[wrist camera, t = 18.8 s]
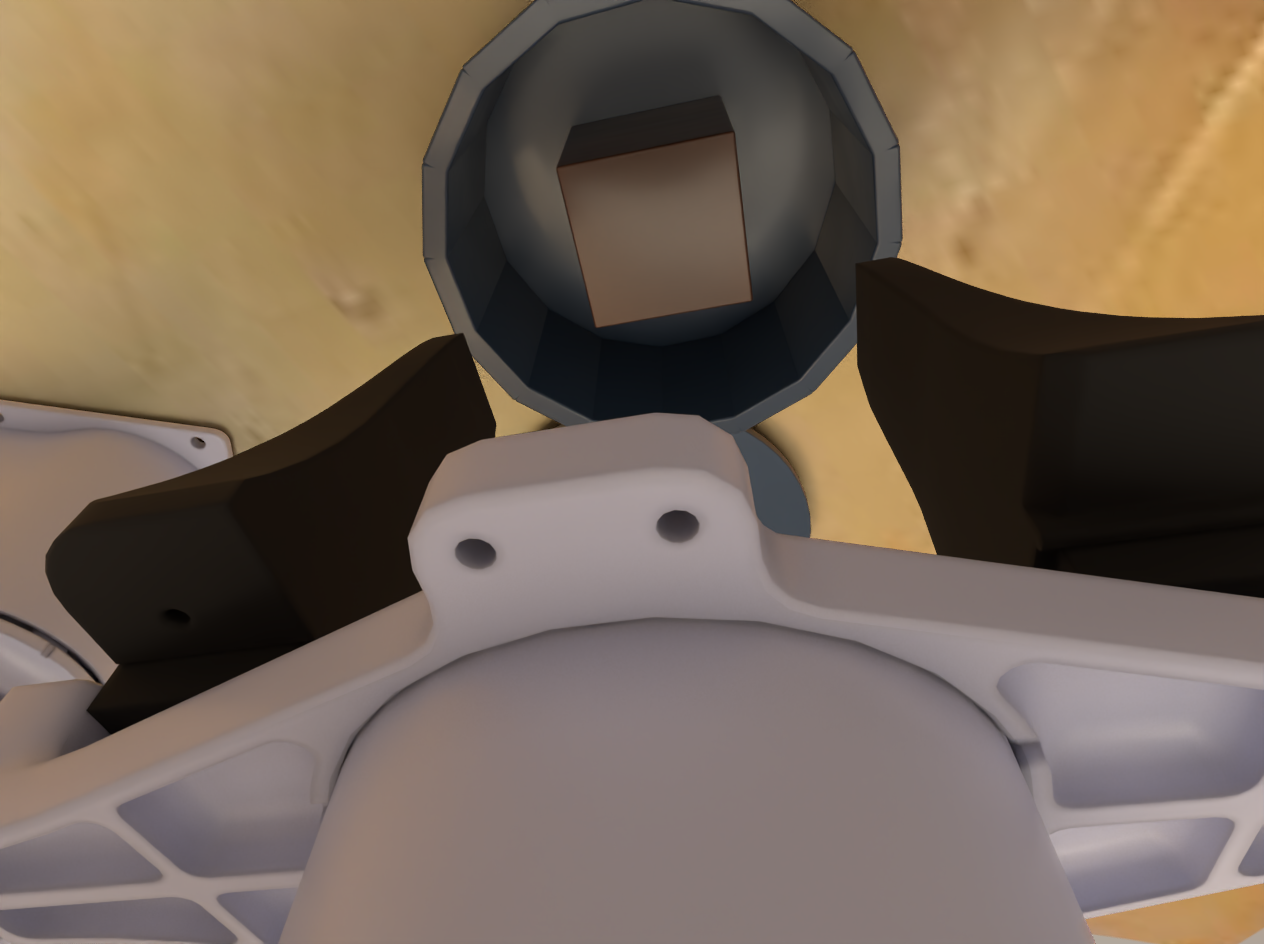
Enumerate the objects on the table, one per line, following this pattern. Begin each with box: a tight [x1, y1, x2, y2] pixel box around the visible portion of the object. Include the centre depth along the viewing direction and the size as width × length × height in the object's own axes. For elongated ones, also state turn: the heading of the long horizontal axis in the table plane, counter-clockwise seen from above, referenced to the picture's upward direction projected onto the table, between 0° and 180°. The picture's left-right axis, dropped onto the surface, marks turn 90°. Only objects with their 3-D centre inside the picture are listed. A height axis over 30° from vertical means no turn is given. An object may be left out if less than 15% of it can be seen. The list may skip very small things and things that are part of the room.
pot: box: [422, 0, 903, 435], centre depth 20 cm, size 11×11×5 cm
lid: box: [553, 424, 811, 538], centre depth 28 cm, size 12×12×4 cm
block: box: [556, 96, 753, 328], centre depth 20 cm, size 4×4×4 cm
